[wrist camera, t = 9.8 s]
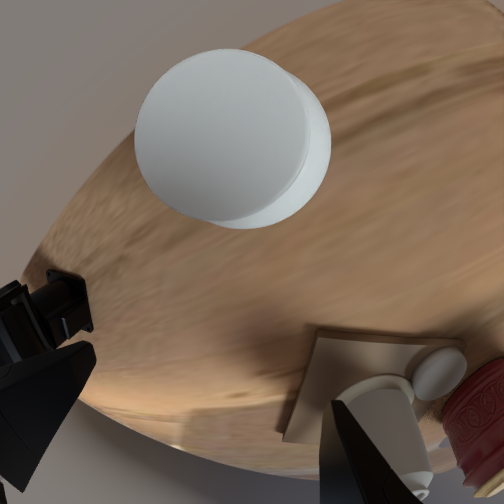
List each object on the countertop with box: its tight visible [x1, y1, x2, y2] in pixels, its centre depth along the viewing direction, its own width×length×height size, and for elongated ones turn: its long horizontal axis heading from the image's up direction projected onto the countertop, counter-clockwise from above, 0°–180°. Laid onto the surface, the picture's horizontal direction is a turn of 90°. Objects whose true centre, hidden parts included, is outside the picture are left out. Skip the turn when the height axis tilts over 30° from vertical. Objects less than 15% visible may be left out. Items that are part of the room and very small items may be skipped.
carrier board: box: [282, 329, 467, 445], centre depth 22 cm, size 16×16×3 cm
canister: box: [442, 358, 504, 497], centre depth 13 cm, size 13×13×18 cm
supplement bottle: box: [134, 49, 331, 229], centre depth 12 cm, size 7×7×13 cm
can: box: [346, 388, 433, 501], centre depth 16 cm, size 8×8×12 cm
